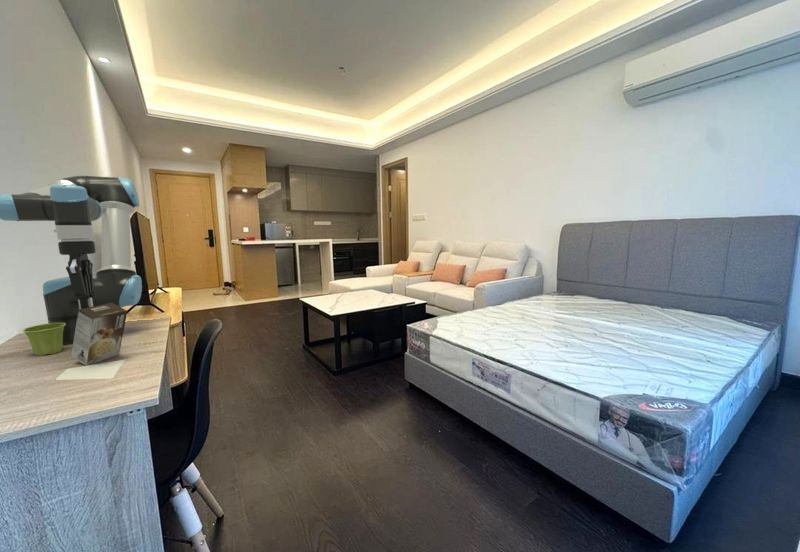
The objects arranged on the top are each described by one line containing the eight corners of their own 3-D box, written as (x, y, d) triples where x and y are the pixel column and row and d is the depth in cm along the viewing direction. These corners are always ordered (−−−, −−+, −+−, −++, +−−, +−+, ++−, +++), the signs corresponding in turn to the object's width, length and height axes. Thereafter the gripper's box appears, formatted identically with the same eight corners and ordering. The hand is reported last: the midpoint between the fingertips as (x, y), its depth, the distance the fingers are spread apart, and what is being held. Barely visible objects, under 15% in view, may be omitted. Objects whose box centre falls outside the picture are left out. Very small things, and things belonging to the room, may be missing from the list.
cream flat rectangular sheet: (67, 370, 92) (66, 368, 92) (125, 360, 98) (125, 359, 98) (37, 398, 77) (36, 396, 76) (109, 385, 83) (109, 383, 83)
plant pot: (77, 347, 110) (73, 322, 109) (47, 358, 101) (42, 331, 100) (50, 347, 111) (46, 322, 109) (18, 358, 101) (13, 331, 100)
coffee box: (104, 345, 104) (113, 301, 101) (119, 355, 103) (128, 310, 99) (69, 356, 95) (77, 308, 92) (85, 366, 94) (94, 318, 91)
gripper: (67, 240, 98) (79, 316, 101) (48, 241, 87) (62, 327, 90) (100, 239, 102) (110, 313, 105) (86, 240, 90) (98, 323, 93)
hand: (88, 319), depth 97 cm, fingers closed
